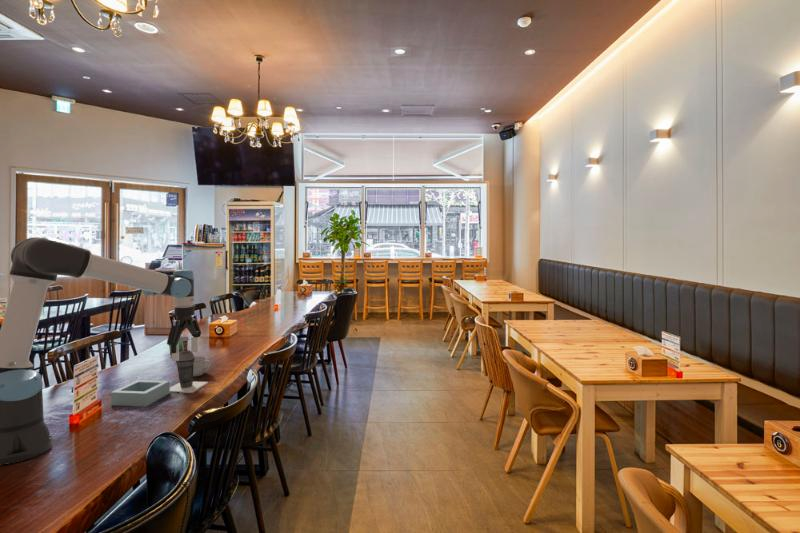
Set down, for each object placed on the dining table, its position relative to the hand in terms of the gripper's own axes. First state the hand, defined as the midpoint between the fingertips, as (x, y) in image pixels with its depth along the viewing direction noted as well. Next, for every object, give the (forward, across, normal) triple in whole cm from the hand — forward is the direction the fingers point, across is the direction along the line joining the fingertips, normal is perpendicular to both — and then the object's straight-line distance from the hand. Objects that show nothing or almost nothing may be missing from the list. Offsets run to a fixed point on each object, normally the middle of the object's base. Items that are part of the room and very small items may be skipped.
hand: (185, 356), depth 178 cm
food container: (+14, +48, +37) cm, 62 cm away
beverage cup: (+13, 0, 0) cm, 13 cm away
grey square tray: (+14, -14, +10) cm, 22 cm away
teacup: (+14, +16, +5) cm, 22 cm away
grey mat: (+14, 0, 0) cm, 14 cm away
